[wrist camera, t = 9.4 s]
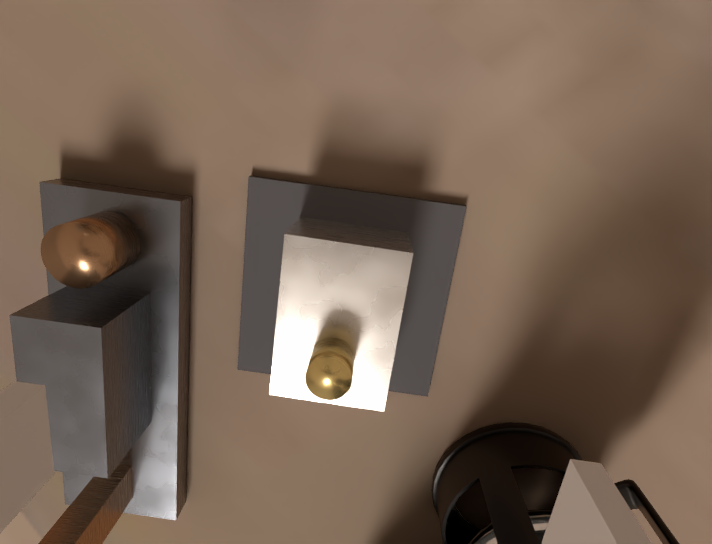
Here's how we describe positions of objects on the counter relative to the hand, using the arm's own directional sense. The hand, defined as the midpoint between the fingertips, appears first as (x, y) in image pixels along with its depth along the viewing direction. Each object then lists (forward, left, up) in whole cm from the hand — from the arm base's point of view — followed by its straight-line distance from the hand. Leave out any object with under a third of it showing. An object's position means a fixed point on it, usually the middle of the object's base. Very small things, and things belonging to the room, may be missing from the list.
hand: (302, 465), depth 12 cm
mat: (0, 0, -14) cm, 14 cm away
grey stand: (+6, -12, -14) cm, 20 cm away
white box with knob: (+1, 0, -14) cm, 14 cm away
